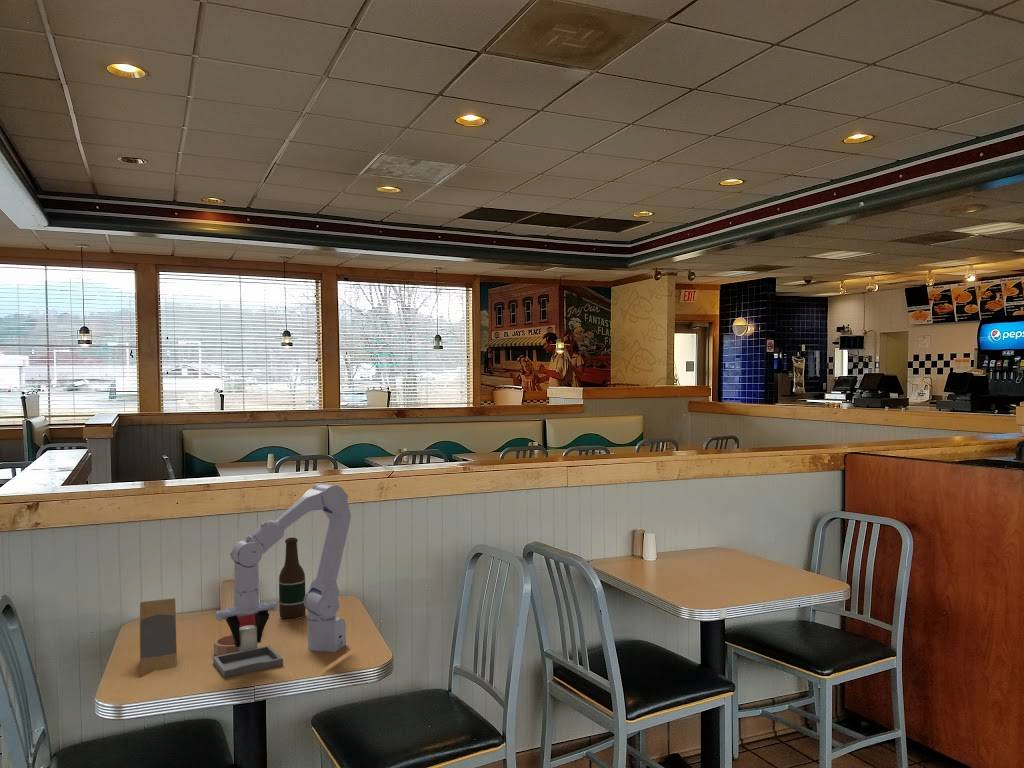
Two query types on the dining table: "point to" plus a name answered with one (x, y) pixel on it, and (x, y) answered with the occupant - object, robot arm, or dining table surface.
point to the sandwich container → (157, 635)
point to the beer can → (247, 620)
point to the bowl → (225, 645)
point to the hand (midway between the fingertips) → (247, 643)
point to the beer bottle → (291, 584)
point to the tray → (247, 661)
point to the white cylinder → (248, 638)
